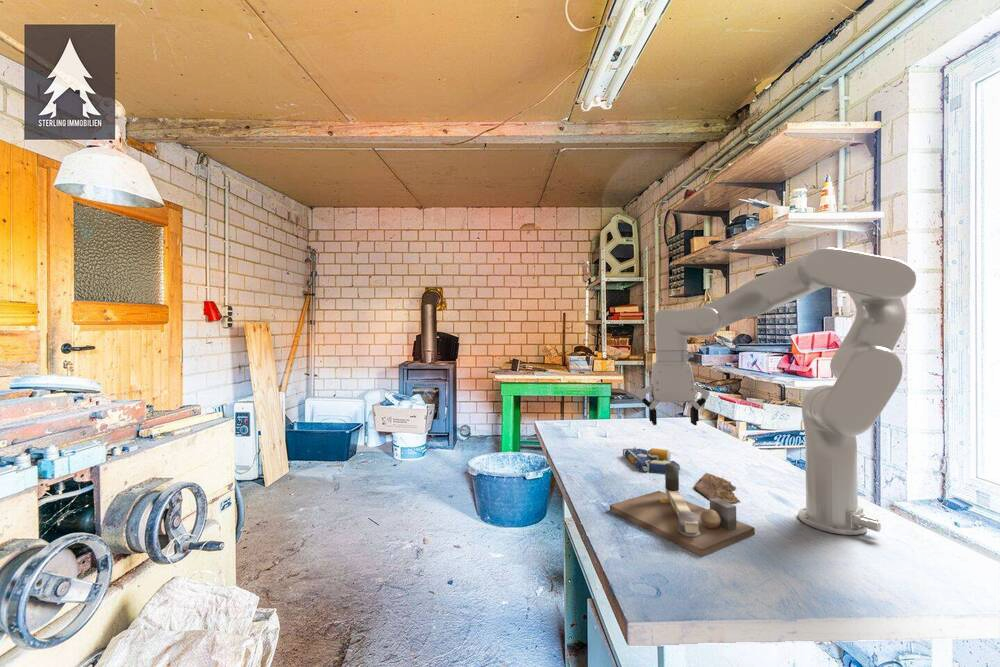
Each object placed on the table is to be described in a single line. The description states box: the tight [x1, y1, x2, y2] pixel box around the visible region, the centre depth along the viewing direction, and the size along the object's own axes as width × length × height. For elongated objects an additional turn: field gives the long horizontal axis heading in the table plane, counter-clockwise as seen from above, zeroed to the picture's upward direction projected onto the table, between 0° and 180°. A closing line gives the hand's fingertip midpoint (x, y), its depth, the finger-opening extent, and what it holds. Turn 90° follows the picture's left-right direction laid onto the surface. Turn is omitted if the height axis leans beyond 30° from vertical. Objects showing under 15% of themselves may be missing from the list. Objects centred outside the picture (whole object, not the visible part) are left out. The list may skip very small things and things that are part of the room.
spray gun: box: [622, 446, 681, 474], centre depth 147 cm, size 21×4×15 cm
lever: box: [664, 463, 699, 533], centre depth 102 cm, size 22×4×8 cm, turn 170°
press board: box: [609, 490, 756, 558], centre depth 103 cm, size 26×18×6 cm
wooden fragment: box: [693, 472, 741, 505], centre depth 124 cm, size 26×11×1 cm, turn 158°
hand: (673, 424), depth 112 cm, fingers open, 9 cm apart
